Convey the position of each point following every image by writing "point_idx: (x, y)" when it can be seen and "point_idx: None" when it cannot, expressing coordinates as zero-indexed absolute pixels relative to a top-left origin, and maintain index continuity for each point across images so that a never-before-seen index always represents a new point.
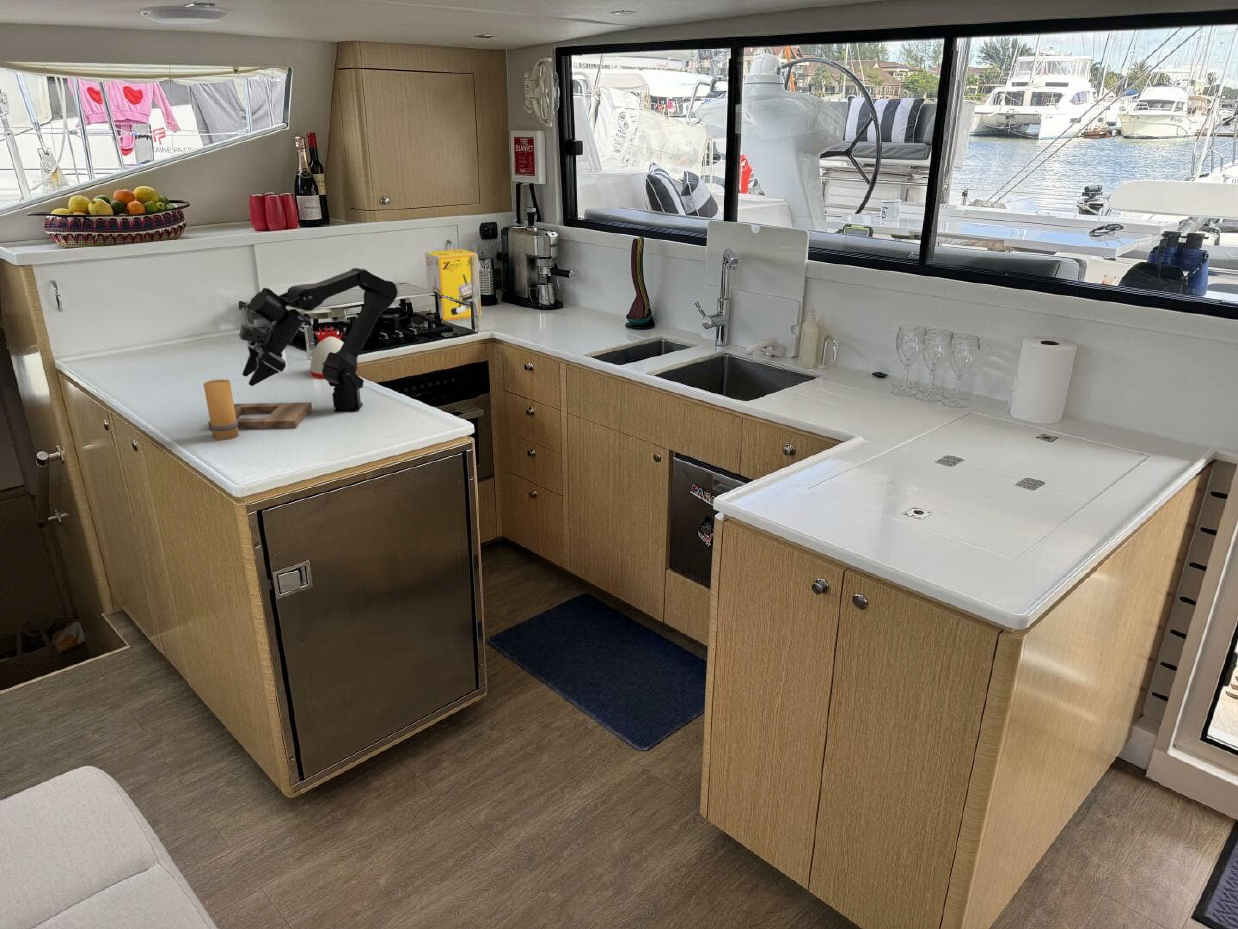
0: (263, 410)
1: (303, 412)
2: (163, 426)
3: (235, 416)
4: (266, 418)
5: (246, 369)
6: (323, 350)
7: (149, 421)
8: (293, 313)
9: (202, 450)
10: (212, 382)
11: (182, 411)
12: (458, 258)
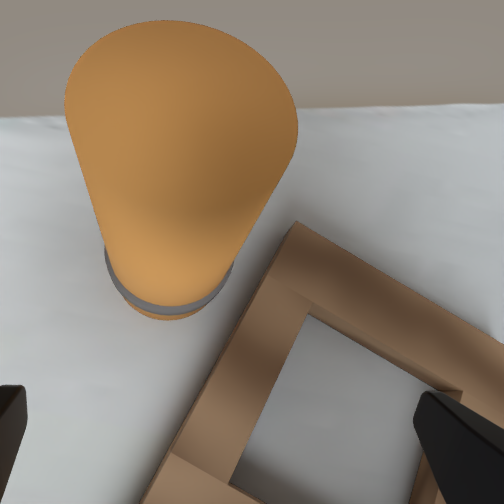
0: (422, 491)
1: None
2: (395, 129)
3: (146, 294)
4: (216, 479)
5: (468, 449)
6: None
7: (460, 113)
8: None
9: (40, 155)
10: (224, 87)
11: None
12: None
